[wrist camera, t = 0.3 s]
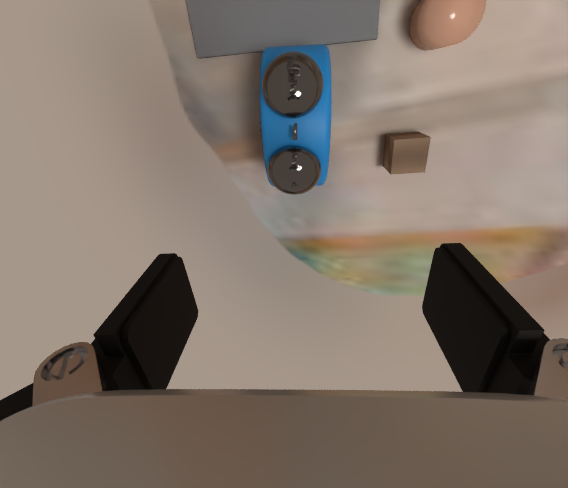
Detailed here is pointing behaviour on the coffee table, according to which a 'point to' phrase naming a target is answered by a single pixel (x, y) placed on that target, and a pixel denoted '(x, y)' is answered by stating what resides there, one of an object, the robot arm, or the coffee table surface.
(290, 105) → the alarm clock
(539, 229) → the coffee table surface
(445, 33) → the tan egg shape
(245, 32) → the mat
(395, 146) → the walnut block
